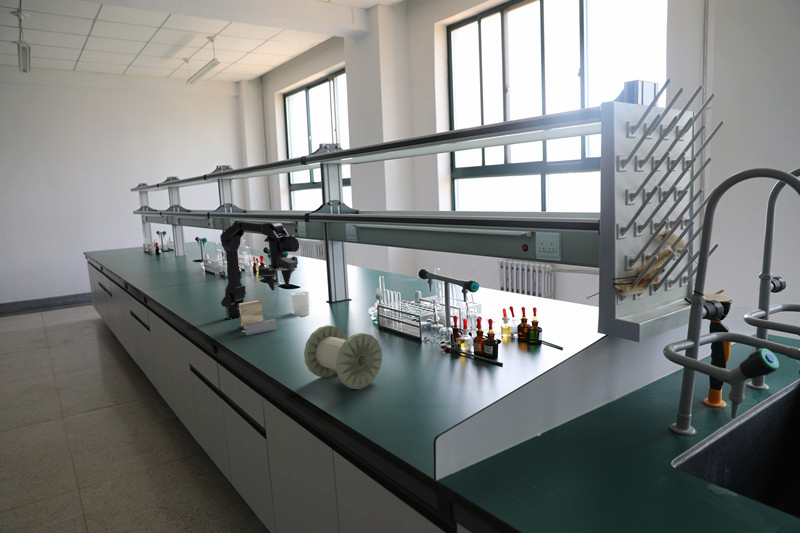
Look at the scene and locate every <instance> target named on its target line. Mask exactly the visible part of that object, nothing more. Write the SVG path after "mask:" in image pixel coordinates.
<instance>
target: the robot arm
mask: <svg viewBox="0 0 800 533" xmlns="http://www.w3.org/2000/svg"><path fill="white" fill-rule="evenodd" d="M245 231H246V232H255V233H261V234H263V235H264V236H266V238H264V240H263V241H264V242H265V243H267V242H268V248H269V249H268V250H269V254H268V255H267V258H269V259H270V264H268V266H264V267H260V268H258V269H257V270H258V271H257V272H258V275H259V276H260V277H262V278H263V279H264V280H265V282H266V284H267V285H268V287H269V288H270V290H271V291H275V277H276V276H277V273H276V272H278V271H281V272H280V273H281V275H282V278H283V282H284V285H285V287H289V284H290V280H291V276H292V274H293V272H295V270H296V269H297V268H298V264H299V261H298V256H294V255H293V256H291V257H287V254H286V253H296V252H298V251H299V249H300V242H299V240H298V239H297V238H296V235H292V234H291V235H289V233H288V231H287V230H286V229H285V227H284V225H283V224H282V222H281V221H274V222H273V221H272V222H266V223H265V222H257V221H248V220H243V219H241V220H236V221H235V222H233V223H232V225H231V226H229V227H228V228H226V229H225V230H224V231H223V232H222V233H221V234H220V236H219V239H220V243H221V246H222V248H223V250H224V251H225V257H226V271H227V272H226V273H227V285H226V287H225V289H224V292H225V294H224V297H222V298H223V299H222V300H221V301H220V304H221V307H225V312H226V317H228V318H229V319H228V320H231V318H232V320H235V319H236V318H237V319H240V318H239V317H240V308H239V304H240V303H244V301H245V297H246V295H247V293H246V285H242V282H241V279H240V269H239V268H240V266H239V256H238V255H239V253H238V250H239V248H240V245H241V242H242V240H241V238H242V237H243V236H244V235H245Z"/></svg>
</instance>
